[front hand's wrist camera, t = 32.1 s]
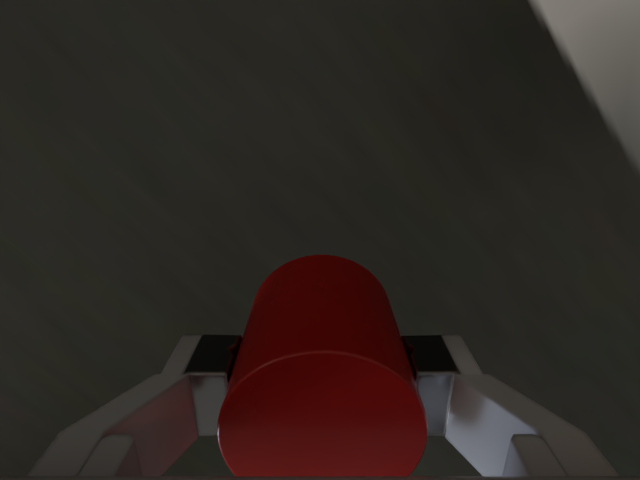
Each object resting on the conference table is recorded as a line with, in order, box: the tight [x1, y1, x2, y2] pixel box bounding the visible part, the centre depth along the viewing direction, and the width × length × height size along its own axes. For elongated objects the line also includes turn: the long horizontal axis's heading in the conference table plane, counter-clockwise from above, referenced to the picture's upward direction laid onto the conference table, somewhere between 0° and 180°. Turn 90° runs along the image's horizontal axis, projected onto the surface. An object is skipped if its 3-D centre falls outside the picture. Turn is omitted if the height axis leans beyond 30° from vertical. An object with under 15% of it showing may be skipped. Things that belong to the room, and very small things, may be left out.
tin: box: [217, 255, 428, 476], centre depth 10 cm, size 4×4×4 cm
